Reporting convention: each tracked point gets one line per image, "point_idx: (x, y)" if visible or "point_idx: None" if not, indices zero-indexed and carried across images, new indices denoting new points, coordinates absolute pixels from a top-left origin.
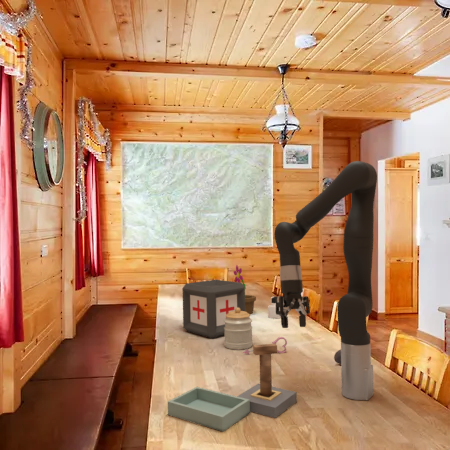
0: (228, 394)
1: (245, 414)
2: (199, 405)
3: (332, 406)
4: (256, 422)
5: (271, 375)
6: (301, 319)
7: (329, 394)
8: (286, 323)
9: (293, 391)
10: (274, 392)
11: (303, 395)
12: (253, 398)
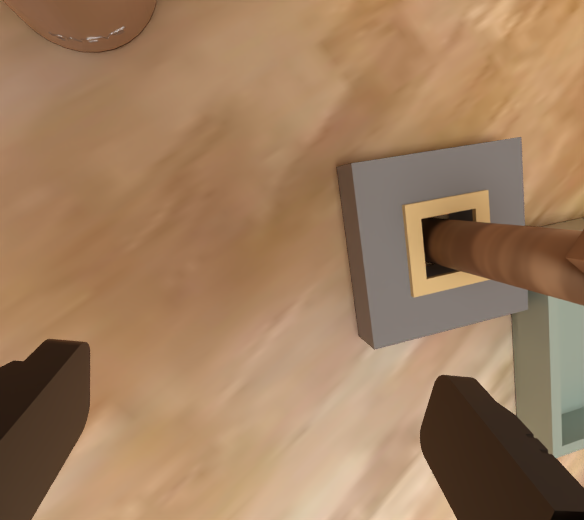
0: (549, 328)
1: None
2: (562, 379)
3: (283, 16)
4: (545, 171)
5: (495, 231)
6: (24, 475)
7: (174, 93)
8: (503, 412)
9: (354, 177)
10: (421, 226)
11: (265, 182)
12: None
